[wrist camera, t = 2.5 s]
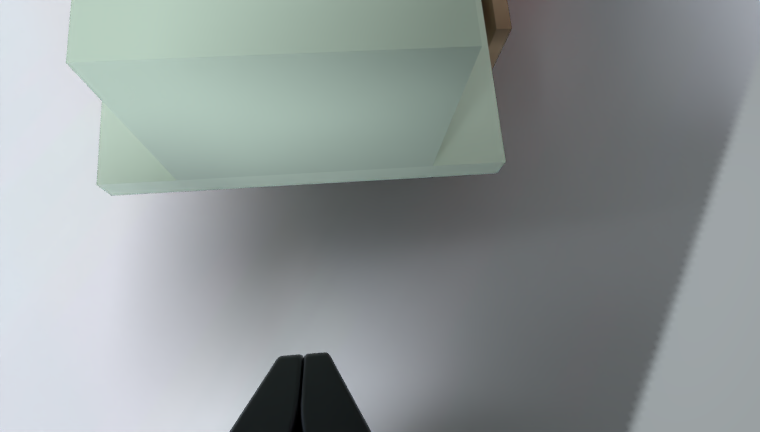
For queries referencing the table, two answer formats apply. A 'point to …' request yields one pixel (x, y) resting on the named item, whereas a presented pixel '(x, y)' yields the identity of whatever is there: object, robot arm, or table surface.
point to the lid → (285, 91)
